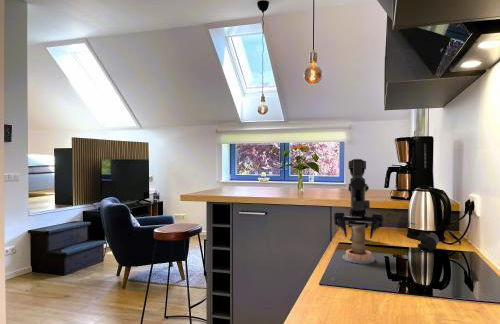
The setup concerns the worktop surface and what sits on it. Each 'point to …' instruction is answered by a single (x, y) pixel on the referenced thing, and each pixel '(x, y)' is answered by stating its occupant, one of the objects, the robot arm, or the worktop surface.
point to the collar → (358, 257)
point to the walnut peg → (358, 240)
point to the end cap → (427, 241)
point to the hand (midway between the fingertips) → (358, 237)
